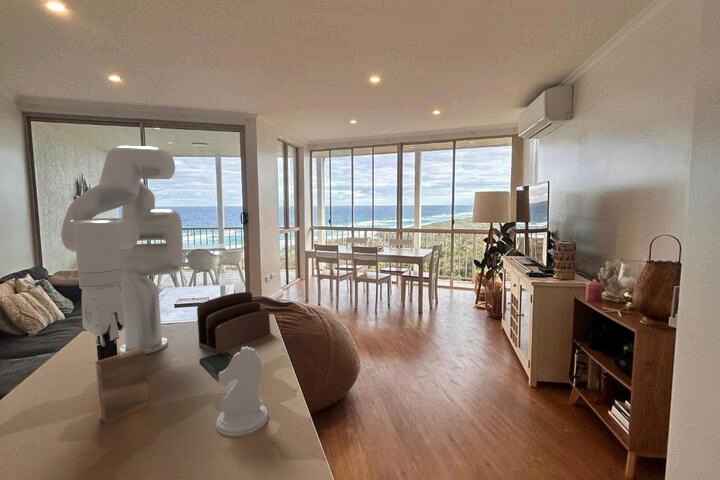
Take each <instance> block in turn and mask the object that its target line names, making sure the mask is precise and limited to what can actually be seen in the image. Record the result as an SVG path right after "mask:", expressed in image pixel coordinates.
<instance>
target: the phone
mask: <svg viewBox="0 0 720 480" xmlns="http://www.w3.org/2000/svg"><path fill="white" fill-rule="evenodd" d="M233 356H234V355H232V354H231V353H229V352H228V351H221V352H219V353H215V354H211V355H208V356H204V357H201V358H200V359H199V364H200V365H201V366H202V367H203V368H204V369H205V370H206V371H207V372H208V373H209V374H210V375H211V376H212V377H213V378H214V379H215V380H217V381H219V379H218V378H219V372H221V371H224V370H225V369H226V368H227V367H228V365H229V364H230V362H231V360H232V358H233Z"/></svg>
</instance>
